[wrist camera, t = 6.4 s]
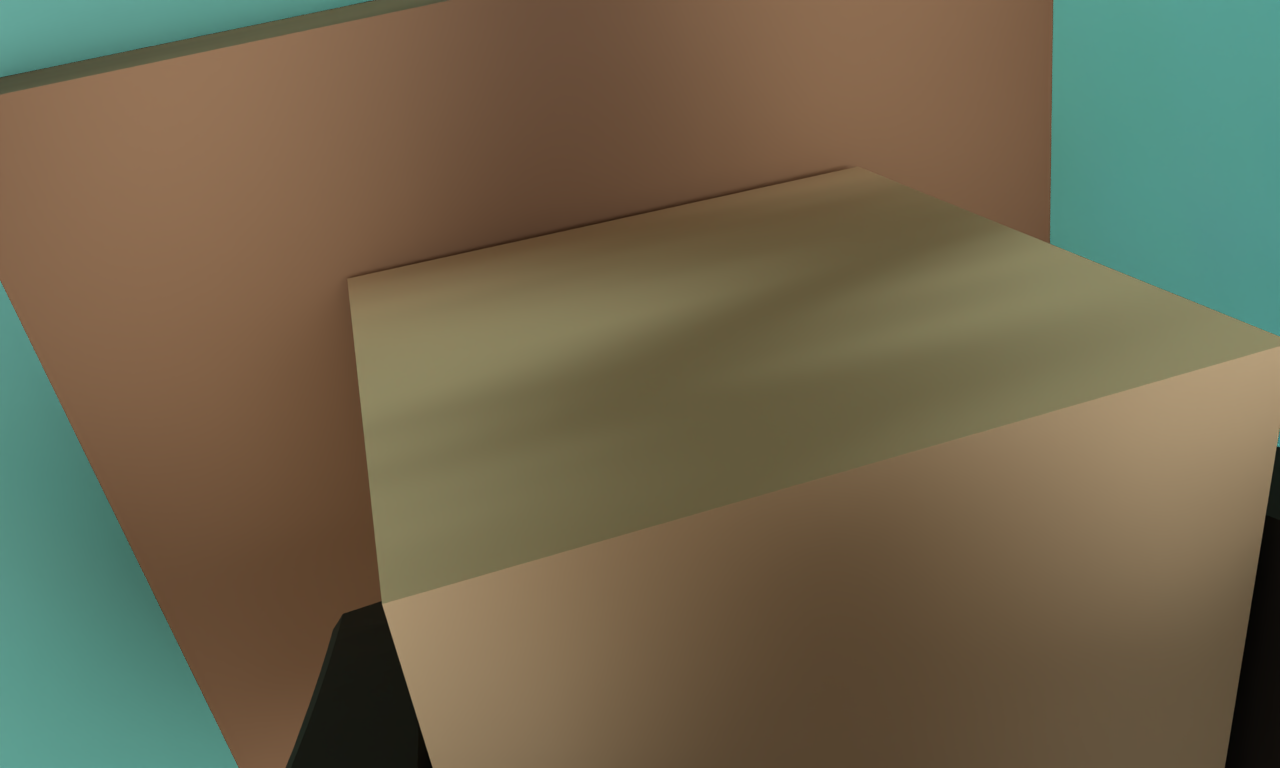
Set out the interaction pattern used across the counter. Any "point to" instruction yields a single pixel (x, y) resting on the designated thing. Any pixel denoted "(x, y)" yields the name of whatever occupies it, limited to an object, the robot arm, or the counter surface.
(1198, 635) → the maple cube
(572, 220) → the walnut base
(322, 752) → the robot arm
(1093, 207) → the counter surface
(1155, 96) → the counter surface
